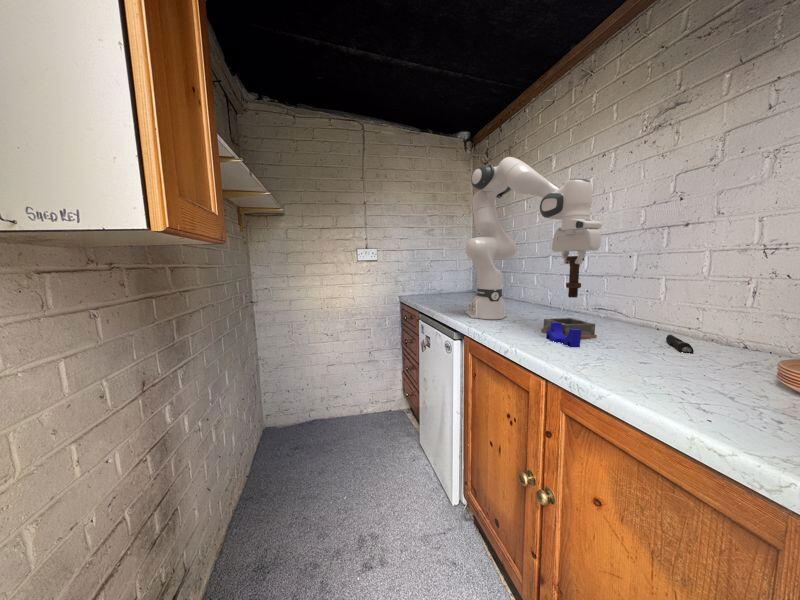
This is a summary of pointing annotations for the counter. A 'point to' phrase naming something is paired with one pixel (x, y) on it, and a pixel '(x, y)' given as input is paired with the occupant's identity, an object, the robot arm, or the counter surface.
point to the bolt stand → (572, 327)
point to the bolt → (573, 277)
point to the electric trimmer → (679, 344)
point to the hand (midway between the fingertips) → (572, 264)
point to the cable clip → (558, 335)
